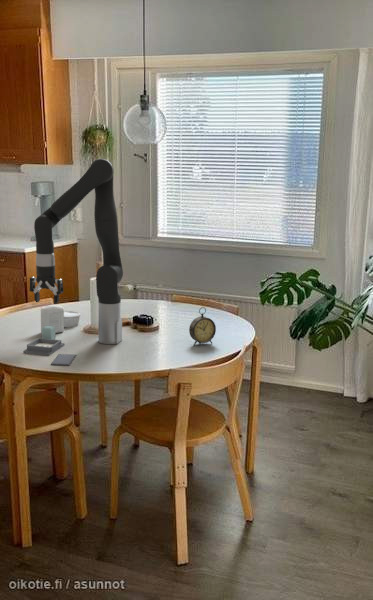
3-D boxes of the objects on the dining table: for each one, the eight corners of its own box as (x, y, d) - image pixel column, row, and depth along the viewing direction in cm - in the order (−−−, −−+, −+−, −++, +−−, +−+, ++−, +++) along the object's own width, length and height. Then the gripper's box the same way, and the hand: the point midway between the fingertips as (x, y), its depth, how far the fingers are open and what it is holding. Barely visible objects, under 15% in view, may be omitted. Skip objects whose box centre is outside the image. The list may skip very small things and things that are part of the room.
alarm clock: (193, 347, 245) (194, 309, 241) (187, 343, 250) (188, 306, 246) (215, 344, 250) (217, 307, 246) (209, 340, 254) (211, 304, 251)
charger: (55, 340, 249) (55, 326, 247) (51, 343, 244) (50, 328, 243) (46, 339, 249) (46, 325, 248) (42, 342, 245) (41, 327, 244)
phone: (76, 356, 230) (76, 354, 230) (69, 367, 219) (69, 364, 218) (58, 356, 230) (58, 353, 230) (50, 366, 219) (50, 363, 219)
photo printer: (61, 329, 264) (61, 303, 261) (65, 332, 260) (65, 305, 257) (39, 332, 258) (38, 305, 255) (43, 335, 254) (42, 307, 252)
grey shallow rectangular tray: (64, 345, 242) (64, 339, 241) (49, 355, 229) (49, 349, 228) (40, 342, 244) (39, 336, 244) (23, 352, 231) (23, 346, 231)
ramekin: (83, 322, 277) (83, 311, 276) (76, 328, 266) (76, 317, 265) (59, 320, 278) (59, 310, 277) (52, 327, 267) (52, 316, 266)
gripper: (65, 263, 241) (66, 302, 245) (34, 261, 245) (36, 299, 249) (56, 266, 234) (58, 306, 238) (25, 264, 238) (26, 303, 242)
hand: (46, 302), depth 244 cm, fingers open, 8 cm apart
